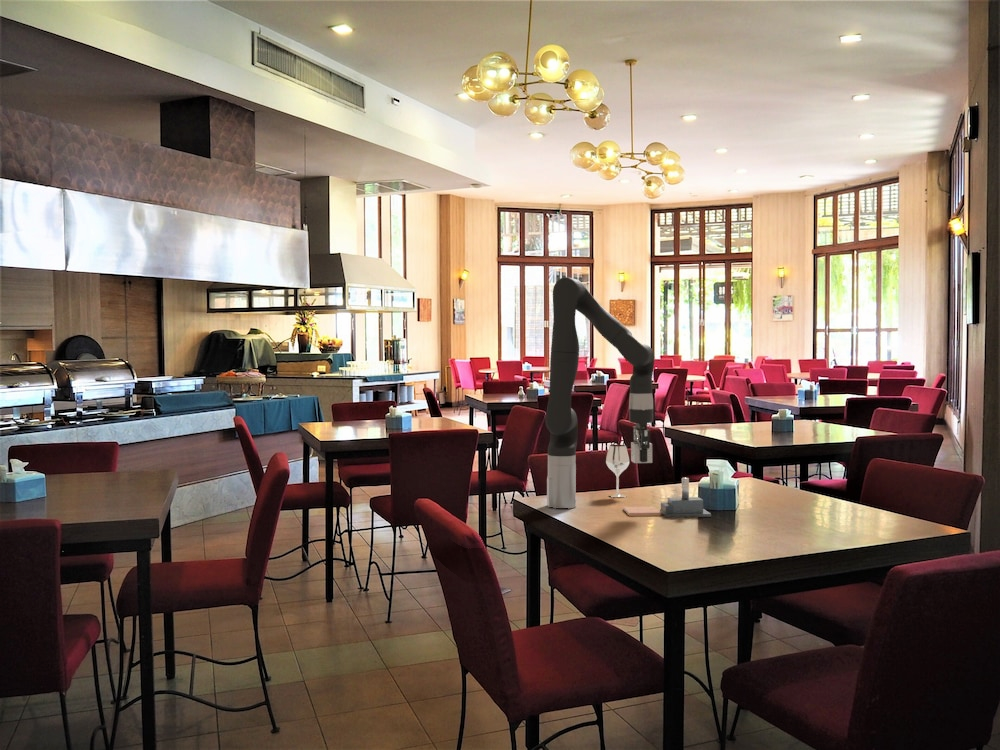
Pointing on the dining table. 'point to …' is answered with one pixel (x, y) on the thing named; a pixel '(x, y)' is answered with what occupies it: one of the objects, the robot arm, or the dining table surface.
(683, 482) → the grey peg stand
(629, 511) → the terracotta tile
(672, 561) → the dining table surface
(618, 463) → the wineglass
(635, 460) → the white cube
